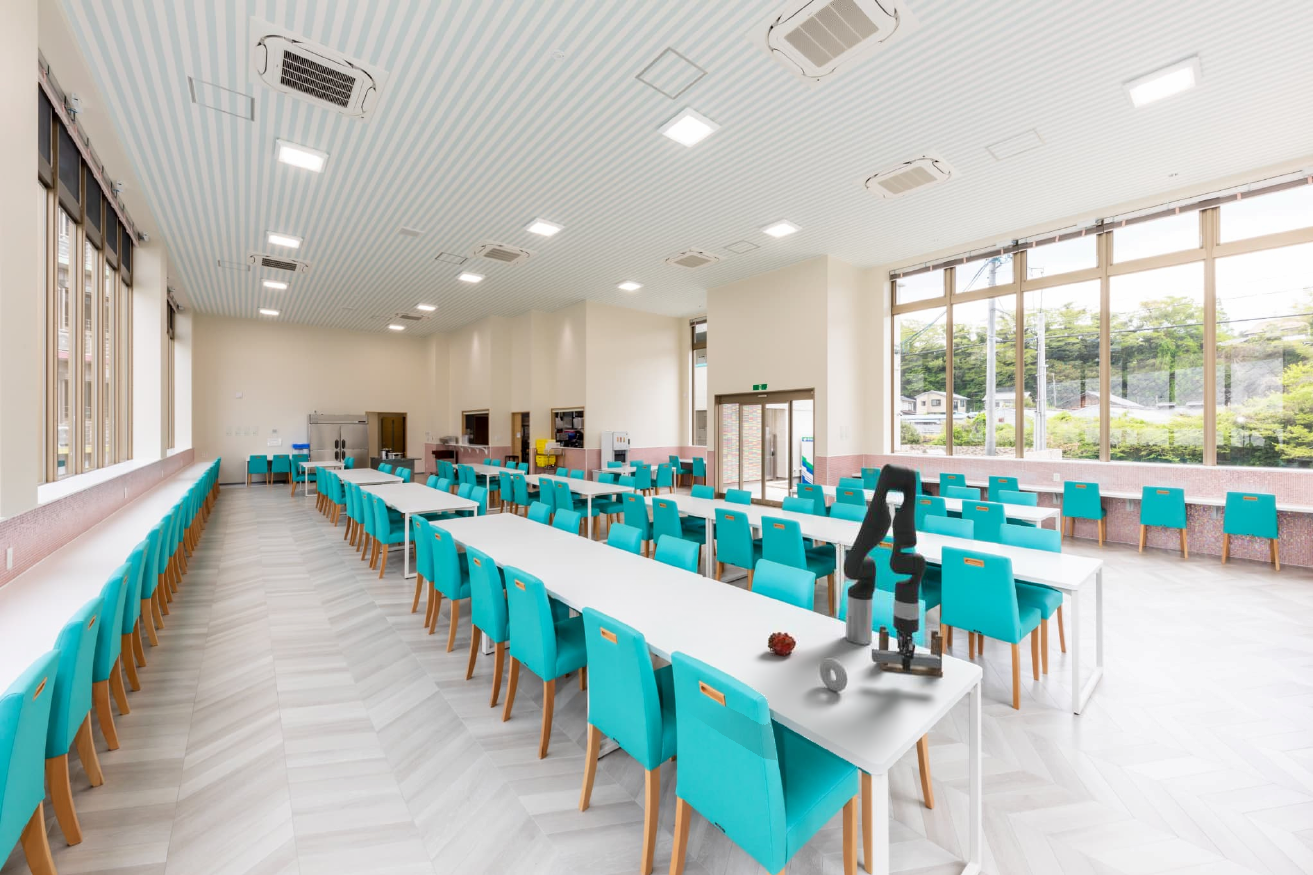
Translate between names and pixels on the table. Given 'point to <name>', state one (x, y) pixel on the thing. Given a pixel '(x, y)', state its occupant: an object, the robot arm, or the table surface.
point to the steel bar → (897, 658)
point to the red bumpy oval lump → (781, 643)
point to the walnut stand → (935, 650)
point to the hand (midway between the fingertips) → (904, 667)
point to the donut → (839, 672)
